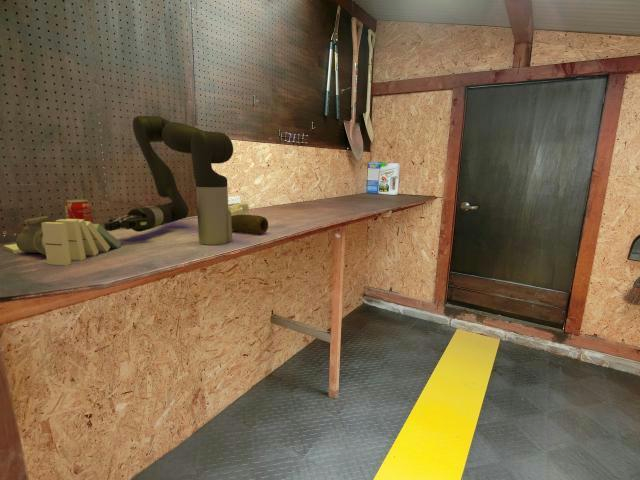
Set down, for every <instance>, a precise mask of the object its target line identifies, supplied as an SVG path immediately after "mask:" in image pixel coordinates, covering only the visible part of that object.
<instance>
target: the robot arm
mask: <svg viewBox="0 0 640 480" xmlns="http://www.w3.org/2000/svg"><path fill="white" fill-rule="evenodd" d="M132 130H133V134H134V136H135V139H136V142H137V144H138V146H139V148H140V150H141V153H142V154H143V156H144V159H145V162H146V163H147V165H148V168H149V170H150V172H151V176H152V179H153V181H154V186H155V189H156V192H157V195H158V196H159V197H160V198H169V199H170V200H171V202H168V203H165V204H157V205H147V206H146V205H145V206H141V207H134V208H132V209H131V210H129V211H128V213H127V214H125V215H122V216H119V217H117V218H116V217H113V216H110V217H109V218H108V222H105V223H104V229H105V230H107V231H108V232H111V231H115V230H132V231H134V232H136V233H137V232H145V231H148V230H151V229H155V228H157V227H159V226H163V225H165V224H170V223H173V222H176V221H179V220H183V219H186V218H187V217H188V216H189V212H190V211H189V210H190V209H189V206H188V204H187V203H186V201H185V199H184V197H183V195H182V194H181V193H180V191H179V189H178V185H177V183H176V180H175V179H176V178H175V176H174V173H173V171H172V170H171V168H170V167H169V165H167V163H166V162H165V161H163V159H161V157H160V156H159V155H158V154H157V153H156V151H155V150H154V148H153V147H152V143H159V142H161V143H164V144H165V146H166V147H167V148H169V149H171V150H172V151H176V152H179V153H182V154H191V161H192V171H193V176H194V180H195V190H196V191H195V193H196V212H197V229H198V231H197V232H198V233H197V235H198V243H199V244H202V245H209V246H210V245H211V246H212V245H223V244H227V243H230V242H233V230H232V221H231V211H228V206H229V191H228V190H229V189H228V186H229V185H228V178H227V176H225V175H222V174H220V173H217V172H216V171H215V170H214V169H213V165H212V164H224V163H227V162H228V161H230V159H232V156H233V155H234V145H233V142H232V140H231V138H230V137H229V136H228V135H227V134H225V133H223V132H220V131H209V130H203V129H200V128H197V127H194V126H191V125H188V124H186V123H181V122H176V121H171V120H168V119H166V118H164V117H162V116H158V115H157V116H156V115H138V116H135V117H134V118H133V119H132Z"/></svg>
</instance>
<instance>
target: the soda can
mask: <svg viewBox="0 0 640 480" xmlns="http://www.w3.org/2000/svg"><path fill="white" fill-rule="evenodd" d="M64 211H65V212H64V213H65V214H64V215H65V219H84V220H85V221H90V222H91V223H92V224H94V217H93V216H94V215H93V210H92V205H91V203H90V202H89V199H68V200H66V203H65V206H64Z"/></svg>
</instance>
